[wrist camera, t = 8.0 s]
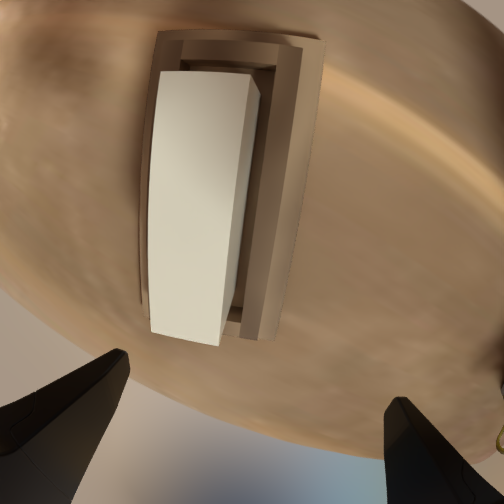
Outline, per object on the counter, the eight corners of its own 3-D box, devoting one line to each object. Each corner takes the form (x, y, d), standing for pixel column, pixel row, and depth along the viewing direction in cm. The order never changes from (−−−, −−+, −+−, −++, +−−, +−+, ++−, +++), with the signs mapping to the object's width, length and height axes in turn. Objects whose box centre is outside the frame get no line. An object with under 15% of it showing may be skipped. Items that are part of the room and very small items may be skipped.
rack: (324, 45, 14) (330, 31, 12) (274, 334, 22) (273, 357, 19) (162, 34, 14) (146, 22, 12) (147, 310, 22) (133, 330, 20)
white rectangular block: (261, 95, 15) (250, 74, 9) (235, 287, 20) (218, 346, 14) (200, 90, 15) (160, 71, 10) (184, 278, 20) (151, 331, 14)
